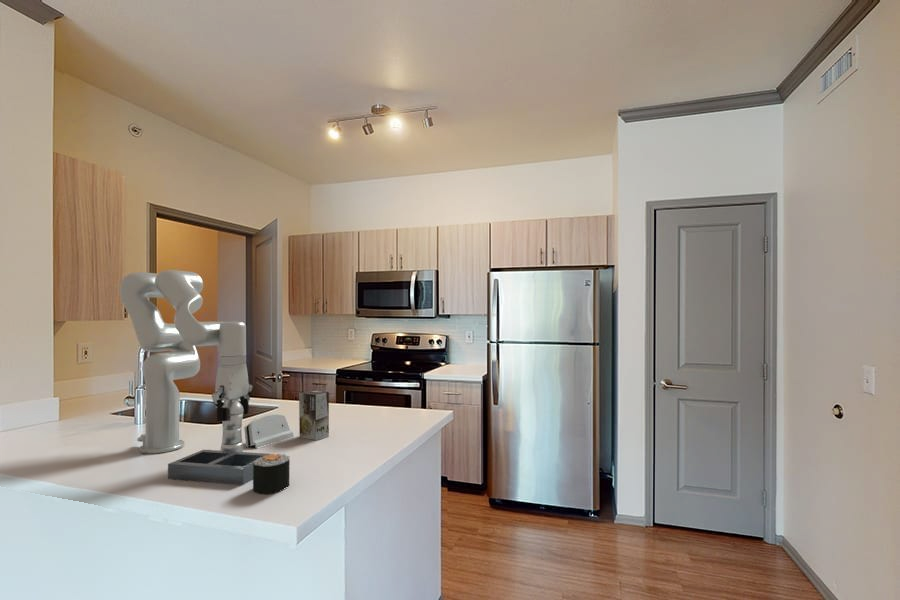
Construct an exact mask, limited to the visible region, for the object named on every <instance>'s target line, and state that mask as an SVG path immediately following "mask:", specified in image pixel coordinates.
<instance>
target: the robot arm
mask: <svg viewBox="0 0 900 600" xmlns="http://www.w3.org/2000/svg"><path fill="white" fill-rule="evenodd" d="M119 284H120V285H119V297H120V300H121V303H122V304H123V307H124V308H125V310H126V311H127V313H128V316H129V318H130V320H131V322H132V326H133V329H134V331H135V335H136V337H137V341H138V343H139V345H140V348H141V349H142V350H143V351H144V352H147V353H148V352H149V353H154V354H151V355H149V356H148V357H147V358H145V360H144V361H143V363H142V375H143V381H144V386H145V433H143V434H141V435H140V436H139V437H138V438H137V439H136V440H137V442H139V443H141V442H142V445H141V446H140V447H139V452H140V453H142V454H148V455H150V454H161V453H167V452H172V451H176V450H178V449H179V450H180V449H181V448H183V447H185V440H182V439H180V405H181V404H180V391H179V389H178V386H177V385H176V383H175V382H174V381H176V380H182V379H188V378H189V379H190V378H192V377H194V376H196V375H197V374H198V373H199V372H200V369H201V359H200V356H199V353H198V350H197V348H196V347H208V346H209V347H210V346H218V347H219V350H218V352H219V353H218V354H219V356H218V358H219V363H218V364H219V367H217V371H216V376H215V385H214V386H215V388H214V392H213V393H212V394H211V399H212V402H213V405H214V406H215V409H216V417H217V418H216V420H217V422H222V421H227V420H228V407H226V406H227V404H228V401H229V400H232V399H236V398H239V399H238V401H239V402H240V403H241V405H242V406H243V409H244V412H243V415H248V414H249V413H250V412H249V411H250V407H249V404H250V403H249V401H250V400H251V398H250V397H251V395H252V390H253V385H252V384H250V383H249V375H248V367H247V325H246V323H245V322H243V321H198V320H197V319H196V318H195V317H194V315H193V314H195V313H196V312H198V310H200V309H201V308H202V305H203V303H204V302H203V301H204V299H203V297H202V295H201V294H200V293H202V291H203V288H204V282H203V279H202V277H201V275H199V274H198V273H196V272H194V271H189V270H188V271H187V270H186V271H185V270H179V269H167V270H162V271H159V273H155V272H140V271H139V272H131V273H128V274H127V275H125V276H123V278H122V279H121V282H120V283H119ZM148 298H153V299H154V298H156V299H166V301H167V302H169V304H170V305H171V306H172V307H173V309H174V310H175V313H174V318H173V319H174V320H173V321H174V323H167V322H165V321H164V319H163V317H162V314H161V311H160V309H158V307H157V306H156V305H155V304H154V303H153V302H152V301H150V300H149V299H148ZM155 352H158V353H155Z"/></svg>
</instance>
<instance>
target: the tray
mask: <svg viewBox="0 0 900 600" xmlns="http://www.w3.org/2000/svg"><path fill="white" fill-rule="evenodd" d="M270 454H271V453H264V452H263V453H262V452H250V451H249V452H247V451H243V452H234V451H220V450H216V449H215V450H213V449H202V450H199V451H197V452H194V453H192V454H189V455H187V456H185V457H182V458H178V459H177V460H174V461H172V462H169V463H168V464H167V479H168V480H176V479H179V480H178V481H189V480H191V482H192V481H193V482H201V481H204V482H203V483H205V482H206V483H214V482H216V483H217V484H227V483H232V484H231V485H240V484H244V485H246V484H247V483H249V482H251V481H253V462H254V461H256V460H257V458H258V459H259V458H260V457H261V458H262V457H265V455H266V456H267V455H270ZM250 480H251V481H250ZM248 481H249V482H248ZM245 483H246V484H245Z"/></svg>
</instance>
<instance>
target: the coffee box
mask: <svg viewBox="0 0 900 600" xmlns="http://www.w3.org/2000/svg"><path fill="white" fill-rule="evenodd" d="M298 395H299V396H298V398H299V399H298V401H299V402H298V405H299V406H298V408H299V409H298V410H299V411H298V415H299V417H298V419H299V420H298V421H299V423H298V425H299V431H298V432H299V433H298V434H299V435H298V436H299V438H303V439H308V440H313V441H318V440H321V439H326V438H329V437H330V432H329V431H330V428H329V427H330V426H329V425H330V421H329V420H330V418H329V417H330V415H329V414H330V411H329V409H330V402H329V401H330V397H329V396H330V392H329V391H323V390H314V389H312V390H306V391H301V392H299V393H298Z"/></svg>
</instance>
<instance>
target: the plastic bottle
mask: <svg viewBox="0 0 900 600" xmlns="http://www.w3.org/2000/svg"><path fill="white" fill-rule="evenodd" d="M239 401H240V399H239V398H236V399H232V400H229V401H228V404H227V406H226V407H228V420H227V421H221V422H222V436H221V444H220V450H219V451H234V452H244V444H243V436H242V434H243V433H242V427H243V426H242V425H243V417H244V414H243V412H244V409H243V406H242V405H241V403H240V402H239Z"/></svg>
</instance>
